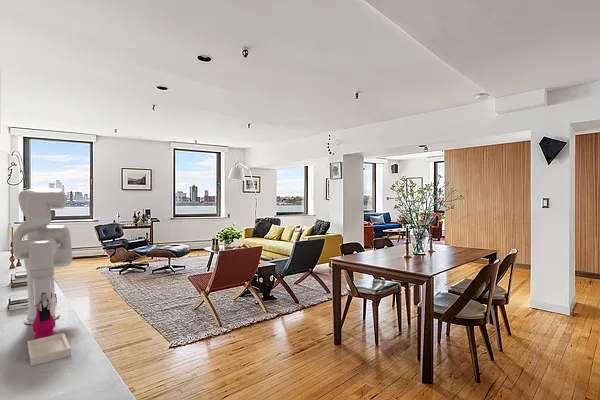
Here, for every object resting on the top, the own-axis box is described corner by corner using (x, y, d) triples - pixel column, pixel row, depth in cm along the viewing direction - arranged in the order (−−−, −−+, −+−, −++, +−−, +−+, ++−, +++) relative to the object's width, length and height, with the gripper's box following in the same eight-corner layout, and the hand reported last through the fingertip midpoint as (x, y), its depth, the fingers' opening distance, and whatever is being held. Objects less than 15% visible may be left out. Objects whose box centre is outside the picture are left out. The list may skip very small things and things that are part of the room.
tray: (27, 348, 126) (27, 341, 126) (64, 339, 133) (64, 332, 133) (30, 366, 112) (30, 358, 112) (71, 355, 119) (71, 348, 119)
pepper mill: (43, 342, 131) (41, 288, 131) (27, 340, 132) (25, 288, 132) (60, 334, 138) (58, 283, 138) (45, 333, 140) (43, 283, 139)
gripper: (28, 271, 139) (30, 314, 139) (30, 278, 126) (32, 326, 126) (51, 268, 144) (53, 310, 144) (56, 274, 131) (58, 320, 131)
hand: (43, 317), depth 135 cm, fingers open, 9 cm apart
